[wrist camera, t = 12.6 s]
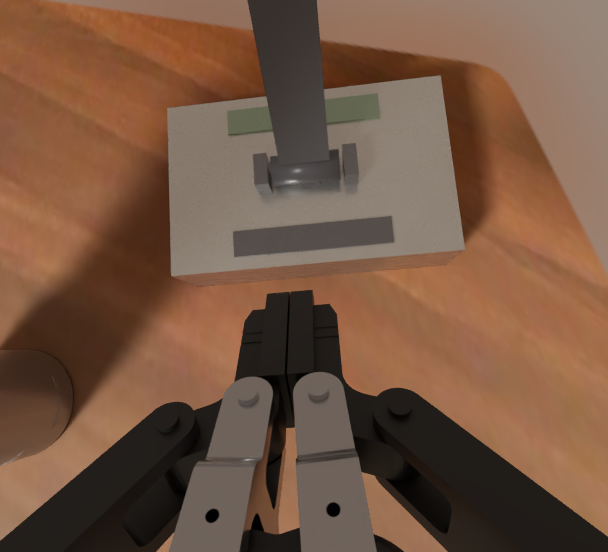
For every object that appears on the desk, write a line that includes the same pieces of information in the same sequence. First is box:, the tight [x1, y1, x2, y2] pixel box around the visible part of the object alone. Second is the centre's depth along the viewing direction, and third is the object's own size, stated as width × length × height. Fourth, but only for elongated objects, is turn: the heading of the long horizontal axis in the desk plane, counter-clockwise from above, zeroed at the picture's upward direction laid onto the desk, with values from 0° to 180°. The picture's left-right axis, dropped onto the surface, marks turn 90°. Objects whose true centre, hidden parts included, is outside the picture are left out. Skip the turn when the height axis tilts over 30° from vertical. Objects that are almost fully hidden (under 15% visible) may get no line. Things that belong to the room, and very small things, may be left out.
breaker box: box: [167, 75, 465, 287], centre depth 36 cm, size 22×14×8 cm, turn 94°
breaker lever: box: [248, 0, 341, 186], centre depth 27 cm, size 5×2×15 cm, turn 94°
